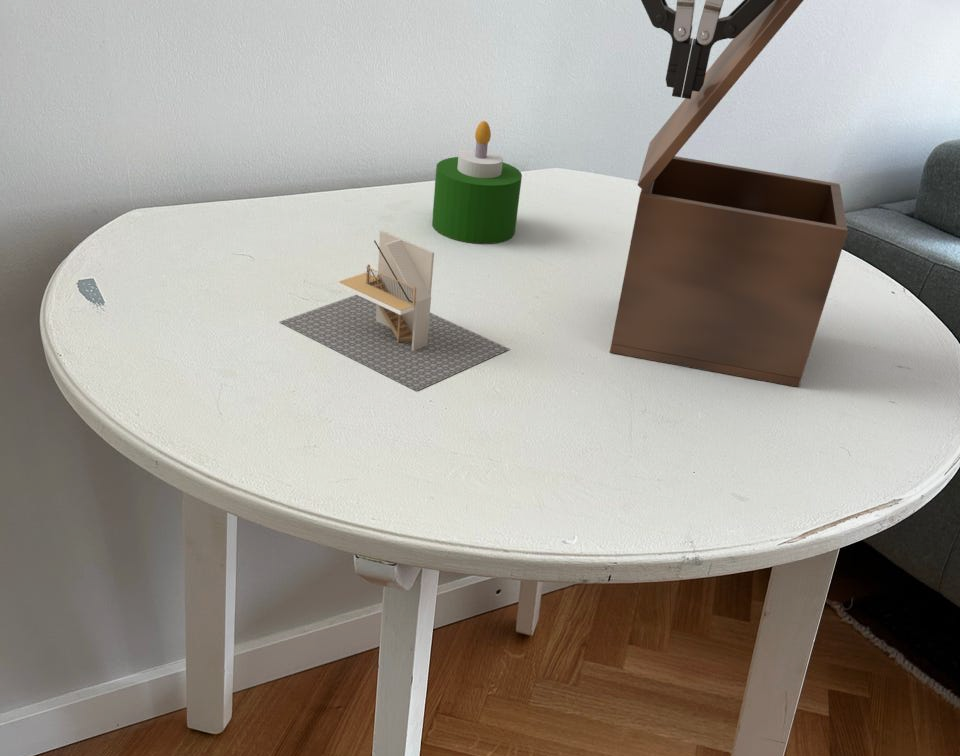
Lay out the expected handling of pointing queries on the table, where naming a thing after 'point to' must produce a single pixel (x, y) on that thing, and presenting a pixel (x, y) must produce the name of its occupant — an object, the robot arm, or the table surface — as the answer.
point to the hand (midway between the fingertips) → (681, 95)
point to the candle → (476, 194)
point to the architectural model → (396, 321)
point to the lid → (714, 88)
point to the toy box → (729, 270)
